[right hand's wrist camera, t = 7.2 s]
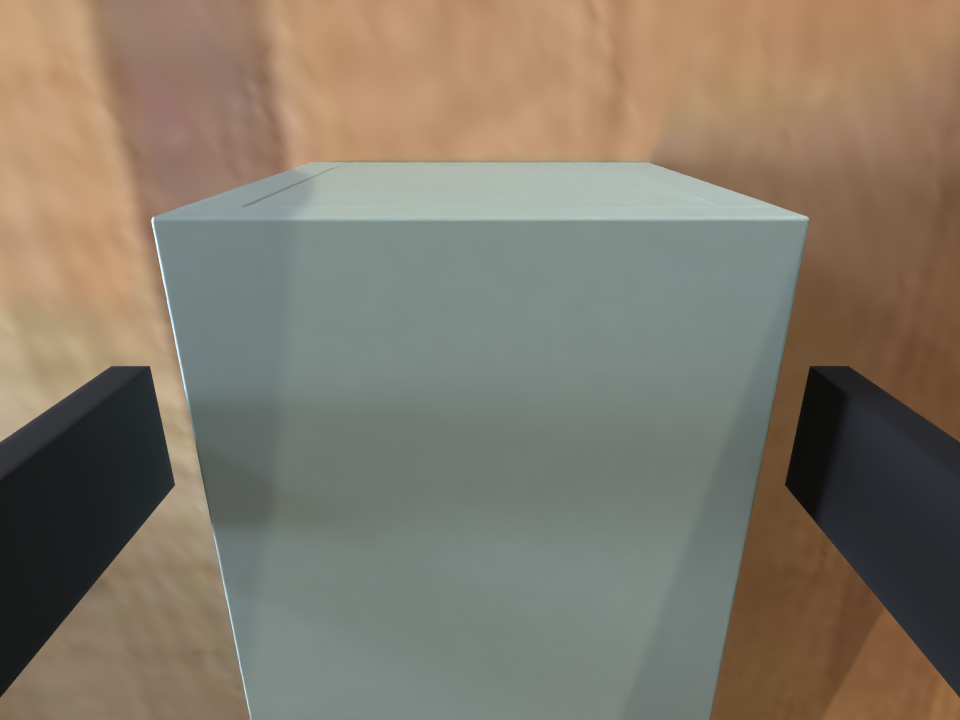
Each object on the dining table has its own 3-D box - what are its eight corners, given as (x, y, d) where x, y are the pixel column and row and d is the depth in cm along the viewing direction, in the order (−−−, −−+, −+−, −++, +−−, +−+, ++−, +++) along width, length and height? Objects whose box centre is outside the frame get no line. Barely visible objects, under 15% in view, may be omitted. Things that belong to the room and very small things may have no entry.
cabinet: (596, 694, 27) (656, 993, 18) (363, 694, 27) (303, 994, 18) (649, 162, 19) (812, 216, 9) (310, 161, 19) (148, 216, 9)
